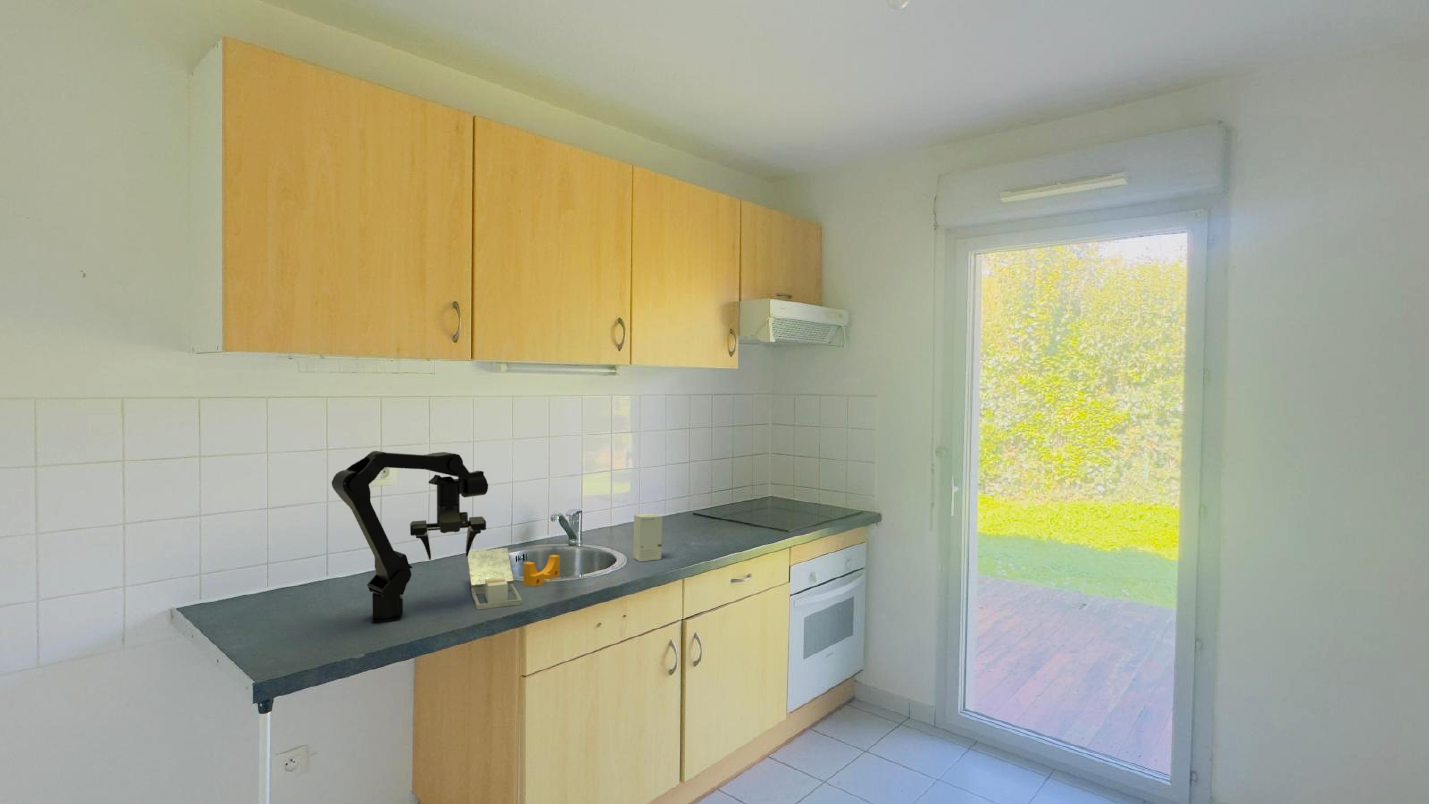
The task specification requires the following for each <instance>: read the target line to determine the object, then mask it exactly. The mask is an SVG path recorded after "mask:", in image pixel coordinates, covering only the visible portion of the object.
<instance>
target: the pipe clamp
mask: <svg viewBox="0 0 1429 804" xmlns="http://www.w3.org/2000/svg"><path fill="white" fill-rule="evenodd" d="M560 563H561V557H560V555H557V554H551V555H549V556H548V561H547V564H546V566H545V567H544V568H543V569H542V570H541V571H538V570H537V567H536V563H535V562H531V561H526V562H523V585H525V586H530V587H532V586H533V588H535V587H538V586H541V585H544V584H543V583H544V582H547V581H546V580H544V579H551V580H552V579H555V578H559V577H560V575H561V573H560V571H561V570H560V569H561V564H560ZM537 585H538V586H537Z"/></svg>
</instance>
